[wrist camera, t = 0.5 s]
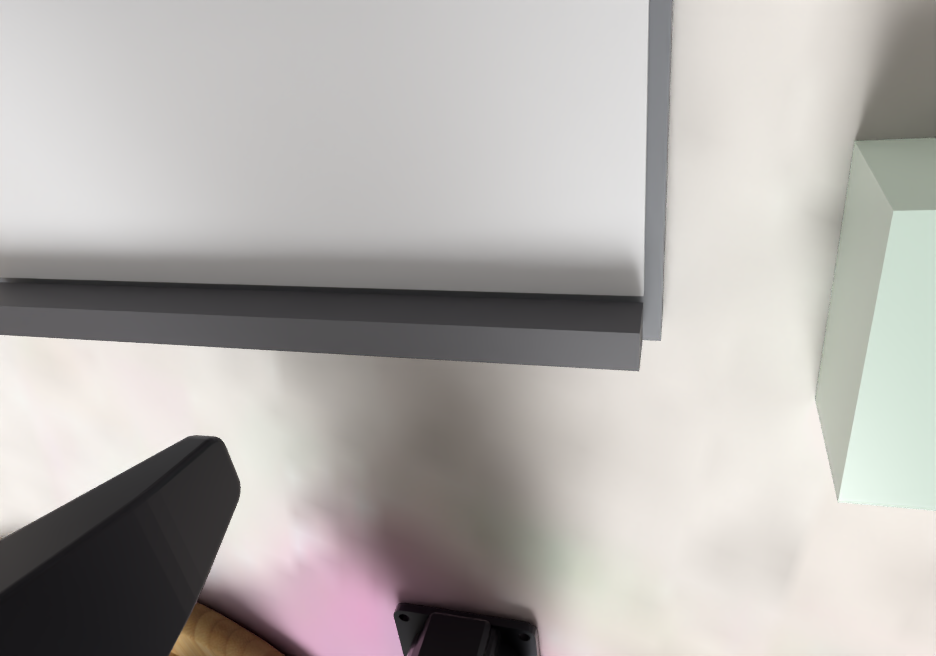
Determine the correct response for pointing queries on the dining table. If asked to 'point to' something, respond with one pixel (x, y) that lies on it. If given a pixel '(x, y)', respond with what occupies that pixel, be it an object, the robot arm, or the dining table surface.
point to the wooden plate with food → (218, 637)
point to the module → (883, 331)
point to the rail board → (338, 175)
